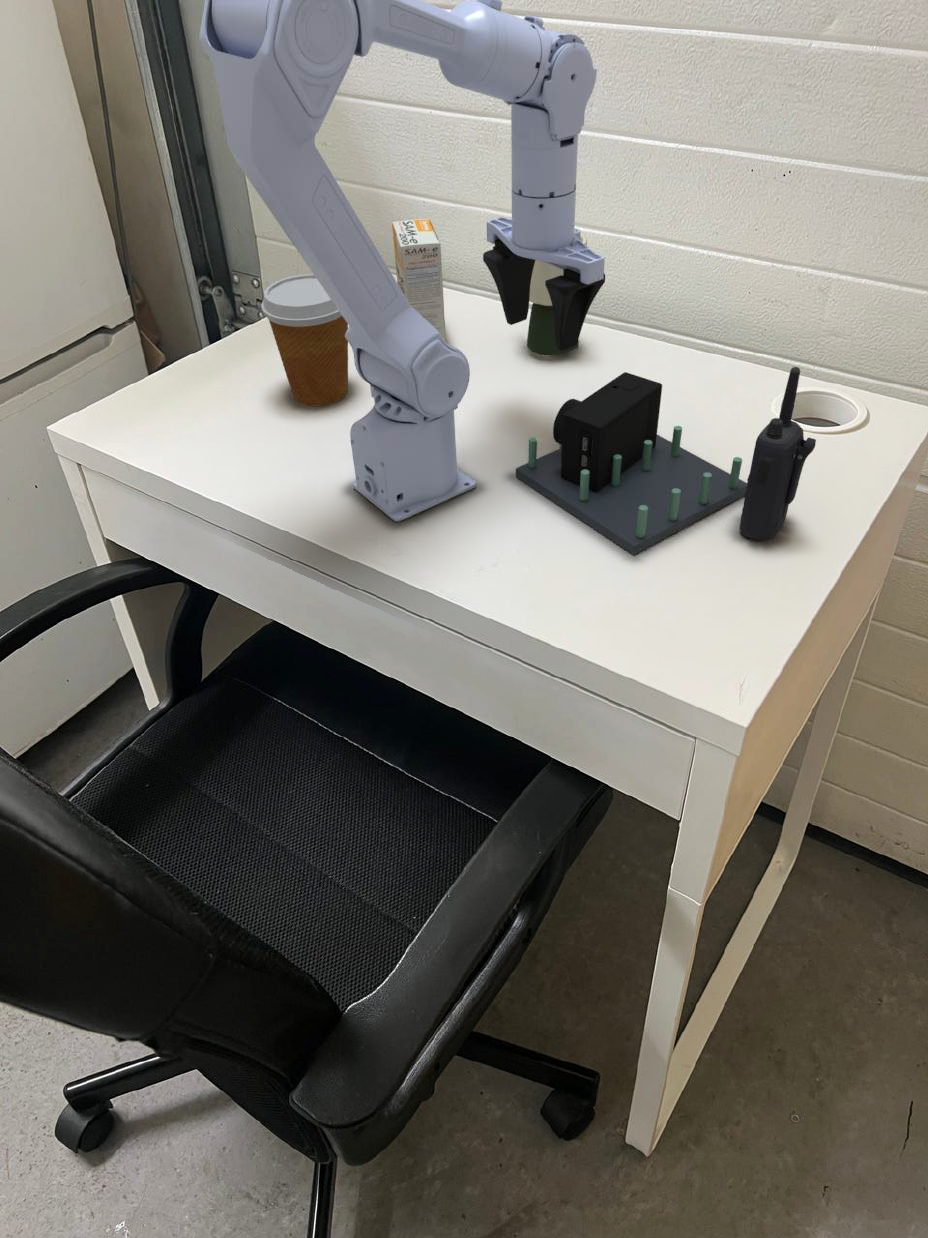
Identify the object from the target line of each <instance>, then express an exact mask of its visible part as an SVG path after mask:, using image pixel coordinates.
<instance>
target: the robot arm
mask: <svg viewBox="0 0 928 1238" xmlns="http://www.w3.org/2000/svg"><path fill="white" fill-rule="evenodd" d="M502 7H503V1H502V0H464V1H461V2H460V3H458V4H457V5H456V6H454V7H453V8H452V9H451V10H450V11H448V10H446V9H443V8H441V7H439V6H436V5H434V4H432V3H429V2H427V1H425V0H204V4H203V11H202V18H201V23H200V29H199V36H198V39H199V41H200V44H201V45H202V47H203V49H204V51H205V53H206V55H207V57H208V59H209V61H210V63H211V65H212V67H213V72H214V77H215V83H216V88H217V92H218V99H219V103H220V109H221V114H222V120H223V125H224V130H225V135H226V141H227V144H228V149H229V151H230V153H231V155H232V157H233V159H234V161H235V162H236V163H237V165H238V166H239V168H240V169H241V171H242V172H243V174H244V175H245V177H246V178H247V179H248V181H249V183H250V184H251V185H252V187H253V188H254V190H255V191H256V192H257V194H258V195H259V197H260V198H261V200H262V201H263V203H264V205H266V207H267V208H268V210H269V212H270V213H271V214H272V216H273V218H274V219H275V220H276V222H277V223H278V224H279V226H280V228H281V229H282V231H283V232H284V233H285V235H286V236H287V238H288V239H289V241H290V242H291V244H292V245H293V247H294V248H295V249H296V251H297V252H298V254H299V255H300V257H301V258H302V259H303V261H304V262H305V264H306V265H307V267H308V268H309V270H310V271H311V272H312V274H314V275H315V277H316V278H317V280H318V281H319V283H320V284H321V285H322V287H323V288H324V290H325V291H326V293H327V294H328V296H329V297H330V299H331V300H332V301H333V303H334V304H335V306H336V307H337V309H338V310H339V312H340V313H341V315H342V316H343V317H344V319H345V320H346V322H347V323H348V329H347V331H346V333H345V338H346V339H347V341H348V345H349V346H350V347H351V350H352V352H353V360H354V366H355V370H356V371H357V374H358V375H359V377H360V378H361V379H362V380H363V381H364V382H365V383H367V384H369V386H370V395H371V397H372V398H373V402H374V405H373V407H372V408H371V409H370V410H369V412H368V413H366V414H365V415H364V416H363V417H361V418H360V419H358V420H356V421H355V422H354V423H352V425H351V427H350V433H349V434H350V435H349V438H350V446H351V454H352V461H353V468H354V475H355V481H354V482H353V483H352V486H353V488H354V489H355V490H356V491H357V492H359V494H361V495H362V496H363V497H365V498H366V499H367V500H368V501H370V503H372V504H373V505H374V506H376V507H377V508H378V509H379V510H380V511H382V512H383V513H384V514H385V515H386V516H388V517H389V518H390V519H391V520H392V521H394V522H401V521H403V520H406V519H408V518H410V517H413V516H414V515H417V514H419V513H421V512H424V511H425V510H428V509H430V508H433V507H435V506H437V505H439V504H441V503H444V502H446V501H448V500H450V499H453V498H454V497H458V496H460V495H461V494H463V493H466V492H468V491H470V490H473V489H474V488H476V486H477V482H476V480H474V479H473V478H472V477H470V476H469V475H467V474H466V473H465V472H463V471H462V470H461V469H459V468H458V462H457V445H456V444H457V443H456V423H455V411H456V410H457V409H458V408H459V404H460V403H461V401H462V400H463V398H464V397H465V394H466V392H467V390H468V387H469V382H470V376H471V372H470V371H471V370H470V364H469V361H468V358H467V356H466V354H464V353H463V351H462V350H460V349H459V348H457V347H455V346H453V345H450V344H449V343H447V341H446V342H445V341H444V339H443V338H442V336H441V334H440V332H439V331H438V330H437V329H436V328H435V327H433V326H432V325H431V324H430V323H429V322H428V321H427V320H426V319H425V318H424V317H422V316H421V315H420V314H419V313H418V312H417V311H416V310H415V309H414V308H413V307H412V306H411V305H410V303H409V302H408V300H407V298H406V297H405V295H404V293H403V292H402V290H401V288H400V287H399V285H398V283H397V279H396V277H395V276H394V275H393V273H392V272H391V270H390V268H389V266H388V265H387V263H386V261H385V260H384V258H383V256H382V255H381V253H380V252H379V250H378V248H377V247H376V245H375V244H374V243H375V242H373V240H372V238H371V236H370V235H369V233H368V231H367V230H366V228H365V227H364V225H363V223H362V222H361V220H360V218H359V216H358V215H357V213H356V211H355V209H354V207H353V206H352V204H350V202H349V200H348V198H347V197H346V194H345V193H344V192H343V189H342V188H341V186H340V185H339V183H338V181H337V179H336V178H335V176H334V175H333V173H332V171H331V169H330V167H329V166H328V165H327V163H326V161H325V160H324V158H323V156H322V154H321V153H320V151H319V150H318V148H317V146H316V144H315V140H316V135H317V134H318V132H319V131H320V129H321V127H322V125H323V123H324V121H325V118H326V116H327V114H328V112H329V110H330V108H331V106H332V104H333V102H334V99H335V98H336V95H337V93H338V91H339V90H340V87H341V84H342V82H343V81H344V78H345V76H346V75H347V72H348V70H349V68H350V66H351V63H352V60H353V59H354V56H357V57H360V58H364V57H365V56H367V55H368V54H369V52H370V50H371V48H372V46H373V43H376V44H380V45H384V46H388V47H391V48H395V49H399V50H402V51H405V52H409V53H413V54H415V55H419V56H424V57H427V58H431V59H435V60H437V61H438V66H439V68H440V71H441V74H442V75H443V77H444V78H445V80H446V81H447V82H448V83H449V84H451V85H452V86H455V87H458V88H462V89H465V90H468V91H471V92H475V93H477V94H481V95H486V96H488V97H491V98H495V99H498V100H502V101H503V102H504V104H506V105H508V106H510V109H511V110H510V115H511V116H510V118H511V120H510V121H511V122H510V123H511V124H510V125H511V126H510V127H511V129H510V130H511V132H510V133H511V135H510V136H511V137H510V139H511V218H507V217H504V216H501V217H497V218H493V219H491V220H487V221H486V242H487V243H489V244H493V246H492V249H490V250H487V251H485V252H484V253H482V261H483V262H484V264H485V266H486V267H487V269H488V270H489V273H490V274H491V276H492V278H493V281H494V283H495V285H496V288H497V291H498V295H499V298H500V301H501V305H502V309H503V313H504V317H505V320H506V323H507V324H508V325H510V326H513V325H515V324H518V323H521V322H523V321H527V320H528V315H529V309H530V301H529V297H530V283H531V277H532V272H533V268H534V264H535V260H539V261H543V262H546V263H548V264H550V265H553V266H555V267H557V268H560V269H562V270H563V276H562V275H560V276H558V277H555V278H552V279H549V280H546V281H545V286H546V288H547V290H548V293H549V295H550V299H551V302H552V307H553V312H554V324H555V342H556V346H557V349H559V350H561V351H563V350H565V349H568V348H571V347H573V346H576V345H577V342H578V341H579V339H580V335H581V331H582V328H583V325H584V323H585V320H586V317H587V315H588V313H589V309H590V307H591V305H592V304H593V302H594V300H595V298H596V297H597V294H598V293H599V291H600V290H601V288H602V287H603V286H604V284H605V283H606V274H605V260H606V257H604V256H602V255H600V254H598V253H597V252H594V251H593V250H592V249H591V248H590V247H589V246H588V245H587V246H586V245H585V244H584V243H583V242H582V241H581V240H580V235H581V234H582V231H581V230H580V229H578V228H576V227H575V226H576V225H575V223H576V199H577V197H576V195H577V174H578V173H577V172H578V170H577V169H578V147H579V146H578V145H579V134H581V133H582V128H583V127H584V126H585V114H586V113H585V112H586V108H587V105H588V102H589V101H590V99H591V96H592V94H593V93H594V92H593V91H594V88H595V85H596V81H597V73H598V71H597V70H598V69H597V68H594V64H593V58H592V55H591V53H590V51H589V49H588V47H587V46H585V42H584V41H583V40H582V38H581V37H579V36H578V35H575V34H570V33H564V32H559V31H552V30H548V29H545V28H544V20H543V18H540V17H539V16H535V15H529V14H527V15H525V16H524V17H523V18H521V17H519V16H516V15H514V14H511V13H508V12H506V11H503V10H502Z"/></svg>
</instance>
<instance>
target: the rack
mask: <svg viewBox="0 0 928 1238" xmlns="http://www.w3.org/2000/svg"><path fill="white" fill-rule="evenodd" d="M682 434H683V427H682V426H681V425H674V427H673V430H672V439H671V441H670V440H668V439H667V438H664V437H662V436H661V435H659V434H657V438H656V446H655V447H654V448H653V449H652V441H651V440H645V441H644V447H643V457H641V458H640V459H639V460H638V461H636V462H635V463H634V464H632V465H631V466H630V467H629V468H627V469H626V470H625V471H624V472H622V473H621V474H620V471H621V459H622V457H621V455H618V454H616V455H614V456H613V463H612V476H611V482H610V483H608V484H607V485H606V486H604V487H603V488H602V489H601V490H599V491H598V492H594V491H592V490H590V489H589V474H590V472H589V471H588V470H582V471H581V476H580V485H577V484H575V483H572V482H570V481H567V480H565V479H563V478H561V454H562V445H561V444H559V448H558V449H555V450H553V451H551V452H549V453H547V454H544V455H542V456H540V457H538V439H537V438H536V437H530V438H528V462H527V463H525V464H522V465H520V466H518V467H516V468H515V477H516V478H517V479H518V480H520V481H522V482H523V483H524V484H525V485H528V486H529V487H531V488H532V489H534V490H535V491H536V492H538V493H540V494H541V495H542V496H544V497H546V498H547V499H549V500H550V501H552V502H553V503H555V504H556V505H557V506H559V507H561V508H562V509H564V510H565V511H566V512H568V513H569V514H571V515H573V516H574V517H576V518H577V519H579V520H580V521H582V522H583V523H585V524H586V525H588V526H589V527H591V528H592V529H594V530H595V531H597V532H598V533H600V534H601V535H603V536H604V537H605V538H607V539H609V540H610V541H611V542H613V543H615V544H616V545H618V546H619V547H621V548H622V549H623V550H624V551H626V552H629V553H630V554H631V555H632V556H634V555H637V554H639V553H640V552H642V551H644V550H646V549H648V548H650V547H652V546H654V545H655V544H657V543H659V542H661V541H663V540H665V539H666V538H668V537H670V536H671V535H673V534H675V533H676V534H677V532H679V531H682V530H683V529H685V528H688V526H690V525H692V524H694V523H696V522H698V521H700V520H701V519H704V518H705V517H707V516H709V515H711V514H712V513H715V512H716V511H718V510H720V509H722V508H724V507H725V506H727V505H730V504H731V503H733V502H735V501H737V500H739V499H740V498H743V497H744V494H745V491H746V490H747V486H748V485H747V481H744V480H742V479H740V476H741V475H740V474H741V469H742V463H743V458H742V457H740V456H735V457H734V458H733V459H732V463H731V464H732V465H731V470H730V473H729V472H727V471H725V470H723V469H722V468H720V467H718V466H716V465H714V464H712V463H711V462H709V461H707V460H705V459H703V458H702V457H699V456H698V455H696V454H694V453H692V452H691V451H688V450H686V448H683V447H682V446H681V443H682V442H681V441H682Z"/></svg>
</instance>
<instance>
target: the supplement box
mask: <svg viewBox="0 0 928 1238" xmlns="http://www.w3.org/2000/svg"><path fill="white" fill-rule="evenodd" d="M391 226H392V227H391V229H392V238H393V247H394V249H393V251H394V259H395V260H394V261H395V272H396V282H397V283H398V285H399V287H400V288H401V290H402V292H403V293H404V295H405V297H406V298H407V300H408V302H409V303H410V305H411V306H412V307H413V308H414V309H415V310H416V311H417V312H418V313H419V314H420V315H421V316H422V317H424V318H425V319H426V320H427V321H428V322H429V323H430V324H431V325H432V326H433V327H435V328H436V329H437V330H438V331H439V332H440V334H441V336H442V338H443V339H444V341H445V342H446V343H447V335H446V321H445V319H446V318H445V301H444V299H445V298H444V282H443V265H442V264H443V263H442V249H441V248H442V247H441V240H440V239H439V237H438V234H437V231H436V230H435V228H434V225H433V223H432V221H431V219H430V217H429V218H417V219H406V220H398V221H392V222H391Z"/></svg>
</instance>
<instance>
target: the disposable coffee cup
mask: <svg viewBox="0 0 928 1238" xmlns="http://www.w3.org/2000/svg"><path fill="white" fill-rule="evenodd" d="M260 306H261V307H260V308H261V310H262V312H263V314H264V315H265V317H266V318H267V319H268V322H269V325H270V327H271V331H272V334H273V337H274V341H275V344H276V347H277V351H278V353H279V356H280V359H281V362H282V366H283V369H284V372H285V376H286V379H287V381H288V384H289V387H290V388H289V389H290V391H291V393H292V397H293V399H294V401H295V402H296V403H299V404H301V405H304V406H309V407H320V406H321V407H322V406H328V405H331V404H335V403H337V402H339V401H341V400H343V399H344V398H345V397H346V396H347V395H348V393H349V342H348V341H347V339H346V338H345V333H346V331H347V329H348V327H349V325H348V323H347V322H346V320H345V319H344V317H343V316H342V315H341V313H340V312H339V310H338V309H337V307H336V306H335V304H334V303H333V301H332V300H331V299H330V297H329V296H328V294H327V293H326V291H325V290H324V288H323V287H322V285H321V284H320V283H319V281H318V280H317V278H316V277H315V275H314V274H313V273H309V274H297V275H293V276H292V275H291V276H287V277H284V278H282V279H279V280H276V281H274V282H273V283H271V284H269V285H268V286H267V287H266V288H265V290H264V291H263V300H262V302H261V305H260Z"/></svg>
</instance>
